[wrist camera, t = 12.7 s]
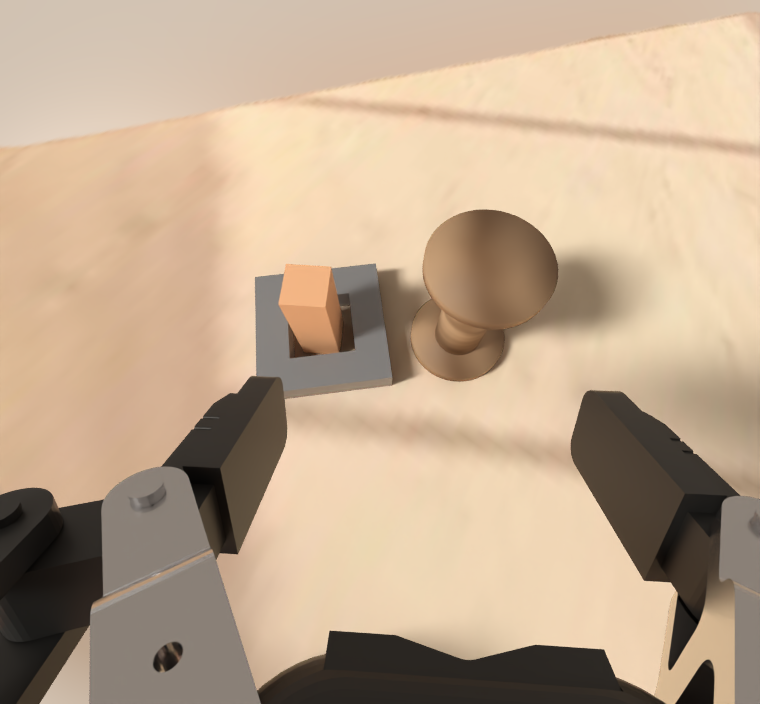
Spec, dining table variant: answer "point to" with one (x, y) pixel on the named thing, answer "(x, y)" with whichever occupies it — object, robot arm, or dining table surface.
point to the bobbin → (479, 290)
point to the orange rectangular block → (312, 307)
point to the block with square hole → (335, 368)
